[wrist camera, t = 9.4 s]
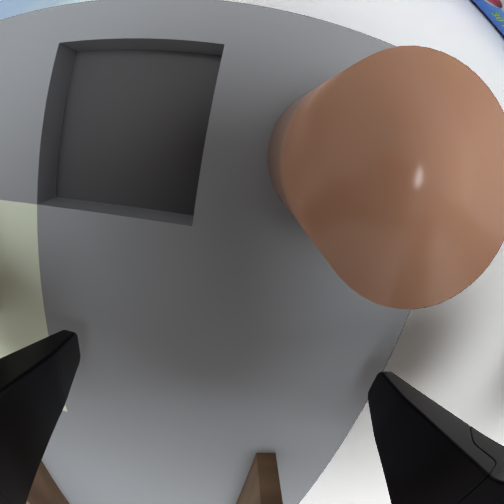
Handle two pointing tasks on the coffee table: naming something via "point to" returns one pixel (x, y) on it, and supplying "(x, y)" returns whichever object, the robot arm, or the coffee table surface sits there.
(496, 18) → the medicine box
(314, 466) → the slate board
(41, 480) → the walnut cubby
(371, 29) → the coffee table surface
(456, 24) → the coffee table surface
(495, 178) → the peach dome
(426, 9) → the coffee table surface
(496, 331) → the coffee table surface
